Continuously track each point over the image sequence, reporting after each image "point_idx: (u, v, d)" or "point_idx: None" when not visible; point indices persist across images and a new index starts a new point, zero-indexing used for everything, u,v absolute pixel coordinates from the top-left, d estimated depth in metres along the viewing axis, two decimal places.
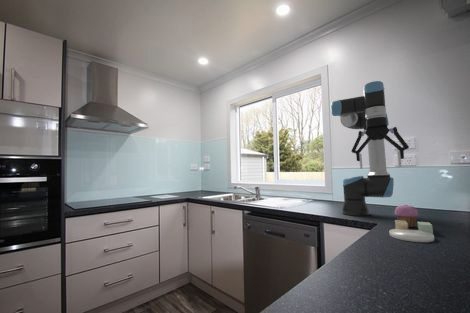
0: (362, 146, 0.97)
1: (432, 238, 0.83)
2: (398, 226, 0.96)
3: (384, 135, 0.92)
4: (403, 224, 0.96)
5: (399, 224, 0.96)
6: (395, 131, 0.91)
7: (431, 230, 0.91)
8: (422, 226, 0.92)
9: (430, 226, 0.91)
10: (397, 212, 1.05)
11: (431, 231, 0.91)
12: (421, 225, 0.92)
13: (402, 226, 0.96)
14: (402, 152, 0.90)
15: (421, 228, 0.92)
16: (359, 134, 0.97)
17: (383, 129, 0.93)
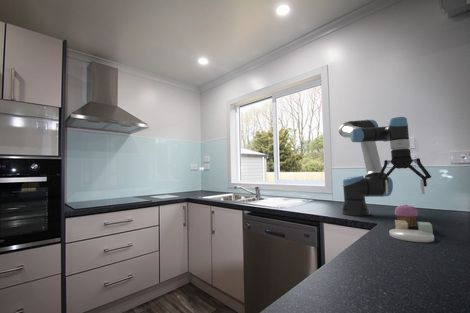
0: (388, 173, 1.09)
1: (432, 238, 0.83)
2: (398, 226, 0.96)
3: (408, 165, 1.05)
4: (403, 224, 0.96)
5: (399, 224, 0.96)
6: (418, 162, 1.03)
7: (431, 230, 0.91)
8: (422, 226, 0.92)
9: (430, 226, 0.91)
10: (397, 212, 1.05)
11: (431, 231, 0.91)
12: (421, 225, 0.93)
13: (402, 226, 0.96)
14: (425, 181, 1.02)
15: (421, 228, 0.92)
16: (385, 163, 1.10)
17: (407, 159, 1.05)
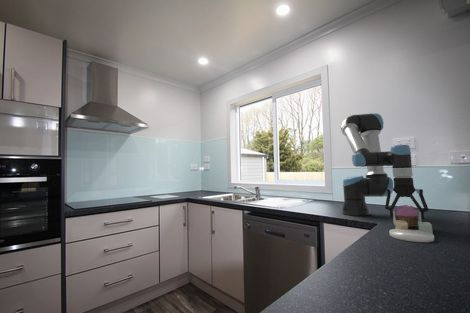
0: (394, 203, 1.07)
1: (432, 238, 0.83)
2: (398, 226, 0.96)
3: (410, 194, 1.04)
4: (403, 224, 0.96)
5: (399, 224, 0.96)
6: (420, 193, 1.02)
7: (431, 230, 0.91)
8: (422, 226, 0.92)
9: (430, 226, 0.91)
10: (397, 212, 1.05)
11: (431, 231, 0.91)
12: (421, 225, 0.93)
13: (402, 226, 0.96)
14: (422, 213, 1.02)
15: (421, 228, 0.93)
16: (388, 192, 1.09)
17: (410, 188, 1.04)
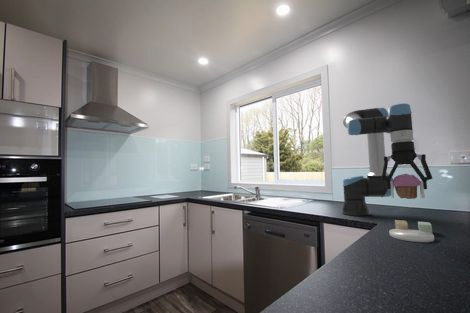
0: (392, 173, 0.92)
1: (432, 238, 0.83)
2: (398, 226, 0.96)
3: (410, 161, 0.89)
4: (403, 224, 0.96)
5: (399, 224, 0.96)
6: (423, 158, 0.87)
7: (430, 230, 0.91)
8: (421, 226, 0.92)
9: (429, 226, 0.91)
10: (395, 182, 0.90)
11: (430, 231, 0.91)
12: (420, 225, 0.93)
13: (402, 226, 0.96)
14: (425, 182, 0.87)
15: (420, 228, 0.93)
16: (385, 160, 0.93)
17: (411, 153, 0.89)
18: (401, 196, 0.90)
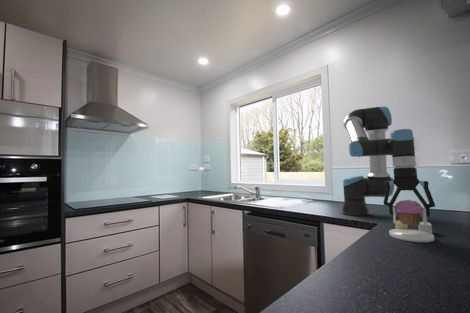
0: (394, 198, 0.91)
1: (432, 238, 0.83)
2: (398, 226, 0.96)
3: (413, 187, 0.88)
4: None
5: (399, 224, 0.96)
6: (425, 185, 0.86)
7: (430, 230, 0.91)
8: (421, 226, 0.93)
9: (429, 226, 0.91)
10: (398, 208, 0.89)
11: (430, 231, 0.91)
12: (420, 225, 0.93)
13: (402, 226, 0.96)
14: (428, 210, 0.86)
15: (420, 228, 0.93)
16: (387, 185, 0.92)
17: (413, 180, 0.88)
18: (403, 223, 0.89)
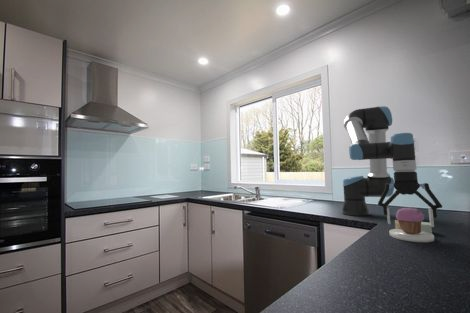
0: (390, 200, 0.92)
1: (432, 238, 0.83)
2: (398, 226, 0.96)
3: (415, 191, 0.87)
4: None
5: None
6: (427, 188, 0.86)
7: (430, 230, 0.91)
8: (421, 226, 0.93)
9: (429, 226, 0.91)
10: (399, 216, 0.89)
11: (430, 231, 0.91)
12: None
13: None
14: (435, 211, 0.85)
15: None
16: (387, 187, 0.93)
17: (413, 184, 0.88)
18: (405, 230, 0.89)
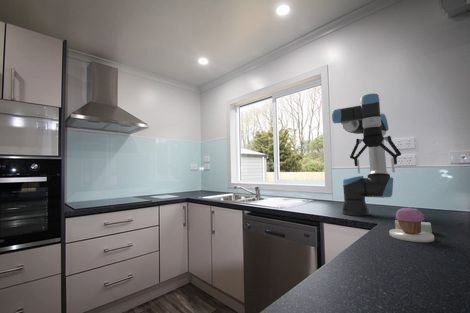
0: (359, 153, 1.06)
1: (432, 238, 0.83)
2: (398, 226, 0.96)
3: (379, 143, 1.02)
4: None
5: None
6: (389, 139, 1.01)
7: (430, 230, 0.91)
8: (421, 226, 0.93)
9: (429, 226, 0.91)
10: (399, 216, 0.89)
11: (430, 231, 0.91)
12: None
13: None
14: (395, 158, 1.00)
15: None
16: (357, 142, 1.07)
17: (378, 137, 1.03)
18: (405, 230, 0.89)
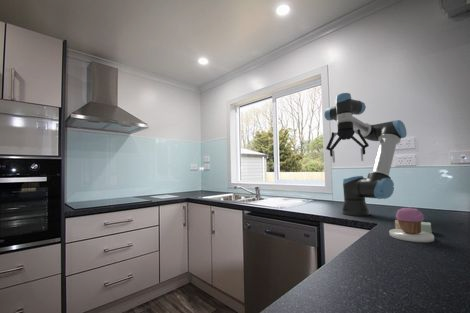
0: (334, 144, 1.21)
1: (432, 238, 0.83)
2: (398, 226, 0.97)
3: (350, 135, 1.17)
4: None
5: None
6: (359, 132, 1.16)
7: (430, 230, 0.91)
8: (421, 226, 0.93)
9: (429, 226, 0.91)
10: (399, 216, 0.89)
11: (430, 231, 0.91)
12: None
13: None
14: (364, 149, 1.15)
15: None
16: (332, 135, 1.22)
17: (350, 131, 1.18)
18: (405, 230, 0.89)
